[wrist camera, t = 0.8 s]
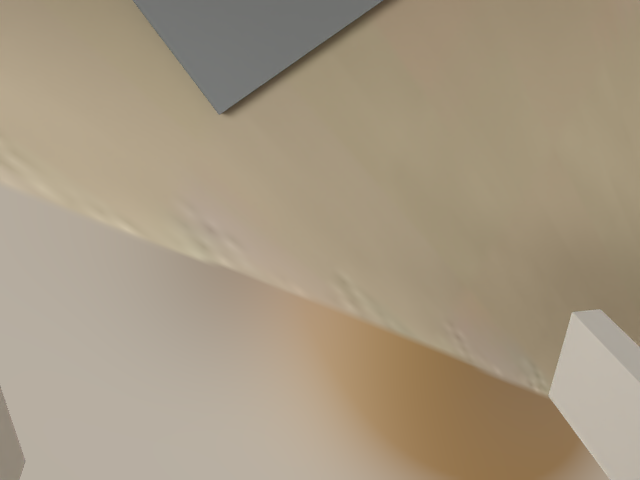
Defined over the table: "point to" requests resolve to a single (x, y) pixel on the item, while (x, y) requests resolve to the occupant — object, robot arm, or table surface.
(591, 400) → the robot arm
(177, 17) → the card
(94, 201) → the table surface
